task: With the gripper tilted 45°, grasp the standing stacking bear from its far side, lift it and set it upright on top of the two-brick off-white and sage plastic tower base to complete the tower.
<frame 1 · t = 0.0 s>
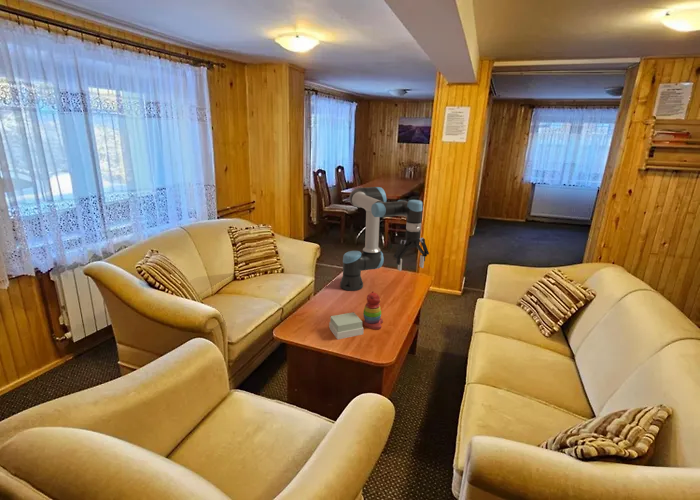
hand: (410, 268, 202), 28 cm above the table, tool pointing down, fingers open, 13 cm apart
tower base: (346, 331, 193), on the table
stacking bear: (372, 324, 200), on the table
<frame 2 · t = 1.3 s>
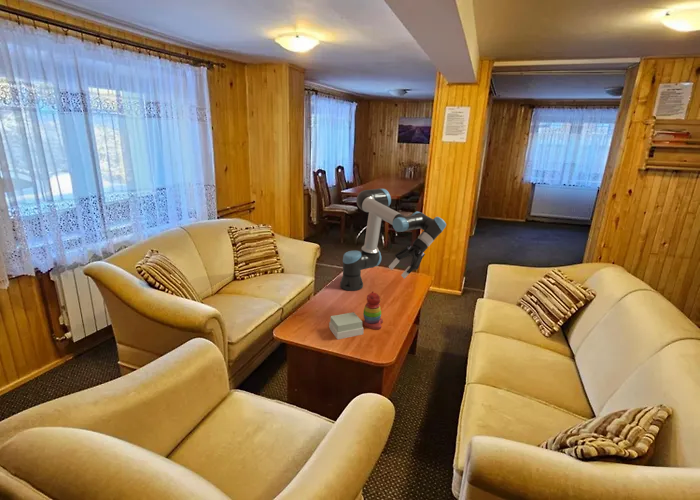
hand: (396, 272, 196), 28 cm above the table, tool tilted 45°, fingers open, 13 cm apart
nothing on the table moved.
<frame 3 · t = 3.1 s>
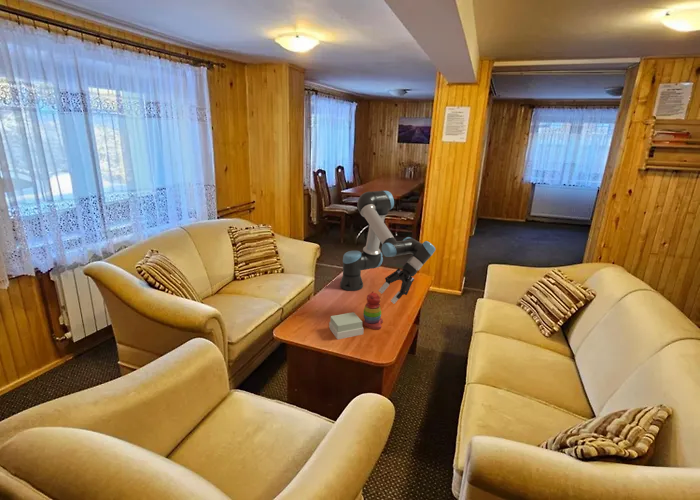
hand: (385, 297, 197), 15 cm above the table, tool tilted 45°, fingers open, 13 cm apart
nothing on the table moved.
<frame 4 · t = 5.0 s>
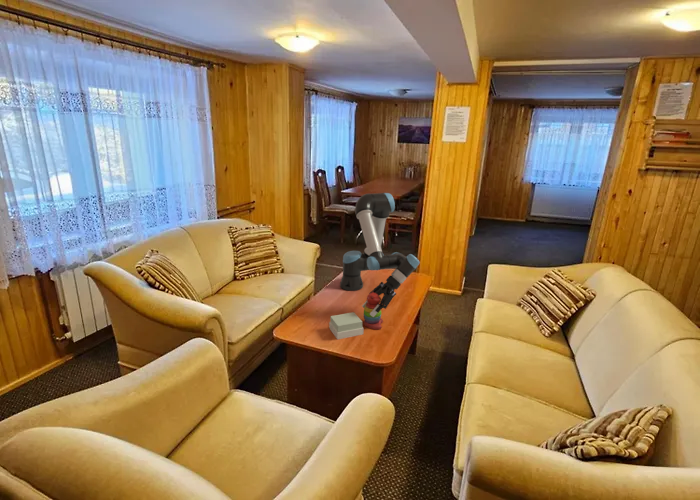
hand: (367, 311, 197), 8 cm above the table, tool tilted 45°, fingers closed on stacking bear, 9 cm apart
stacking bear: (372, 324, 200), on the table, touching gripper
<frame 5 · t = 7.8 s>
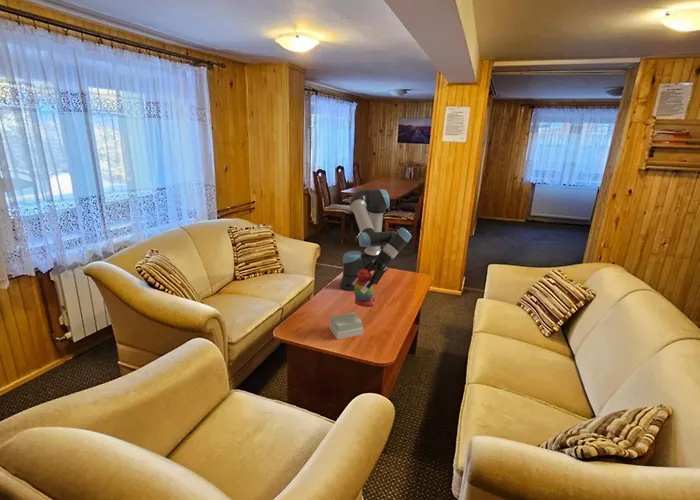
hand: (358, 288, 188), 23 cm above the table, tool tilted 45°, fingers closed on stacking bear, 9 cm apart
stacking bear: (364, 303, 191), point 14 cm above the table, touching gripper
when the fingers open (16 cm above the table, at t = 10.3 s): stacking bear moves 1 cm, resting on tower base.
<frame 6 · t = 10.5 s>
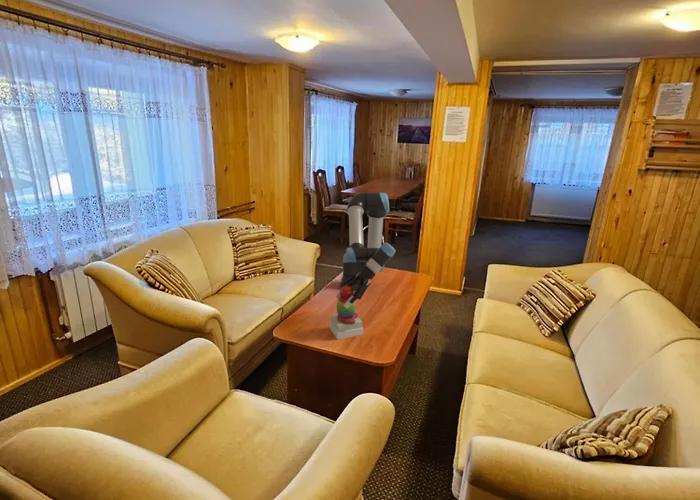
hand: (341, 302, 187), 17 cm above the table, tool tilted 45°, fingers open, 11 cm apart
stacking bear: (346, 319, 190), point 7 cm above the table, touching tower base
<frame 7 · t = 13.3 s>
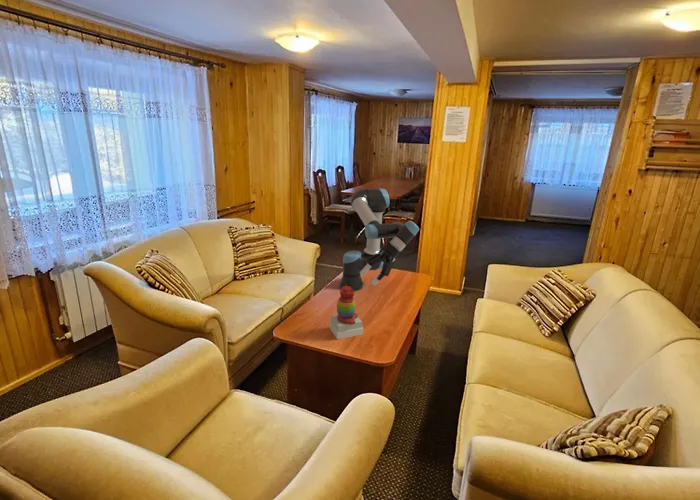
hand: (366, 279, 189), 27 cm above the table, tool tilted 45°, fingers open, 13 cm apart
nothing on the table moved.
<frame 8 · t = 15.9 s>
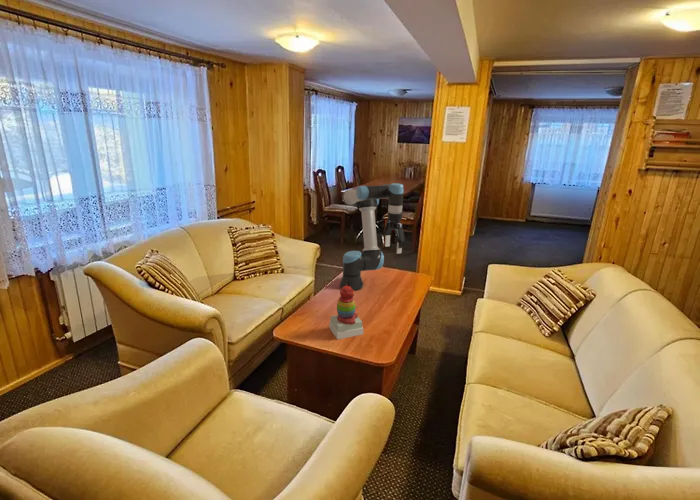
hand: (393, 249, 211), 35 cm above the table, tool pointing down, fingers open, 13 cm apart
nothing on the table moved.
at the end: stacking bear inside the target area on the tower base (0.2 cm from its centre), point 6.8 cm above the tower base's base; stacking bear tilted 0°; the gripper is holding nothing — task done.
